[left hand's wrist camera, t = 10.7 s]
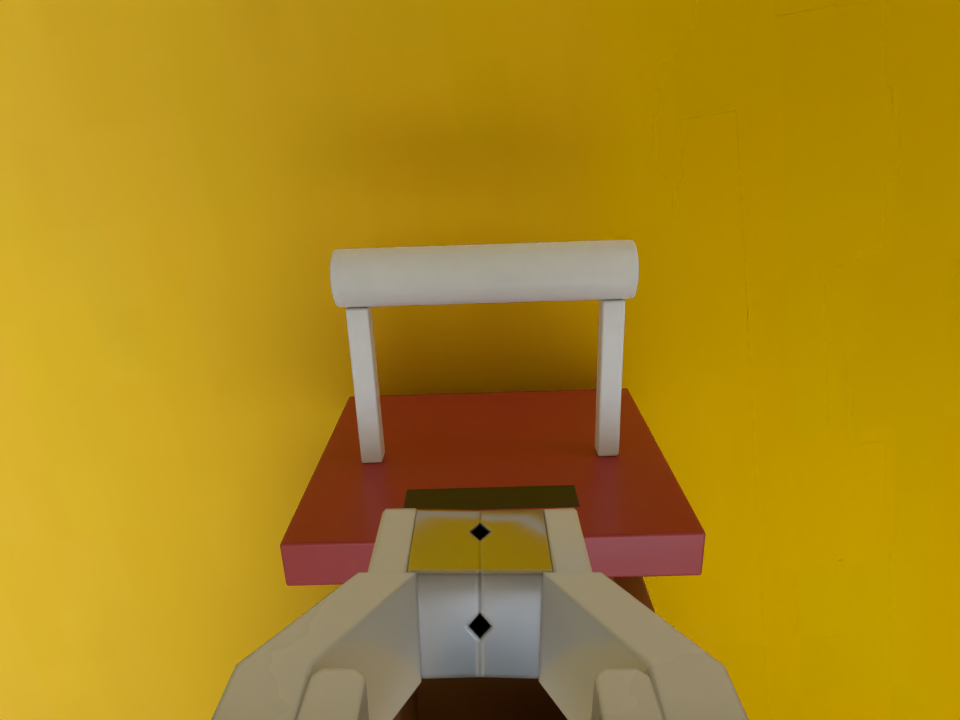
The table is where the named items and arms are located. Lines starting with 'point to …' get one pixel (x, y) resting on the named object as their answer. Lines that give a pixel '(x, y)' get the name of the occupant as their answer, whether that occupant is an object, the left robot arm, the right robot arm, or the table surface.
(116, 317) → the table surface
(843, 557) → the table surface
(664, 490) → the drawer
